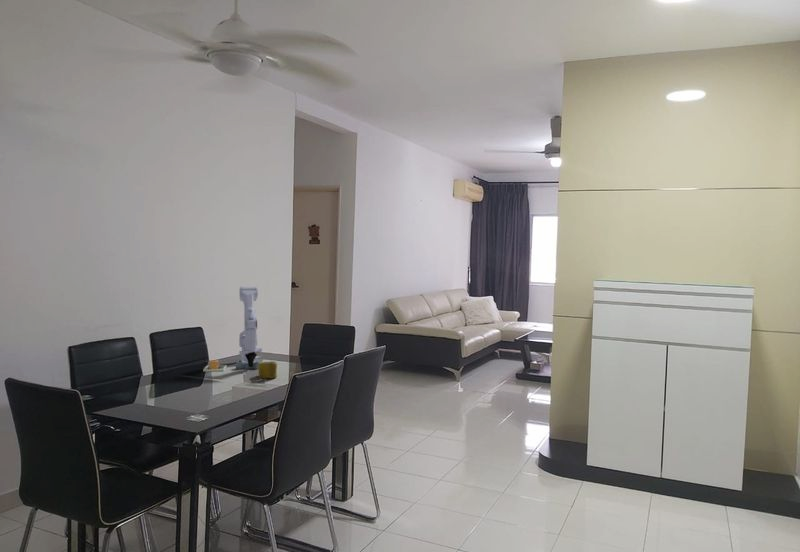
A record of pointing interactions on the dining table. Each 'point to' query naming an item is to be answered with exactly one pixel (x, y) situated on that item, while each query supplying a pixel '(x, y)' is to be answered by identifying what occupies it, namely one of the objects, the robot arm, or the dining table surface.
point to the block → (214, 364)
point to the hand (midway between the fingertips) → (250, 366)
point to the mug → (267, 370)
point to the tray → (215, 369)
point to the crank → (246, 365)
